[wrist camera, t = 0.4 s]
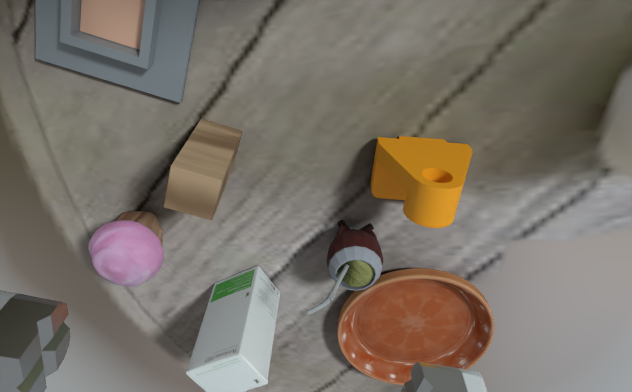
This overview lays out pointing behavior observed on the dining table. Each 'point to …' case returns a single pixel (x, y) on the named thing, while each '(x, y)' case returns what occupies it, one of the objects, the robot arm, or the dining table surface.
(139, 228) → the cupcake
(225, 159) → the block
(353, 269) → the mate gourd
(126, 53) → the housing
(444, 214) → the bracket
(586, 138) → the dining table surface
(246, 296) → the skincare box
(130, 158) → the dining table surface
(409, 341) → the saucer
